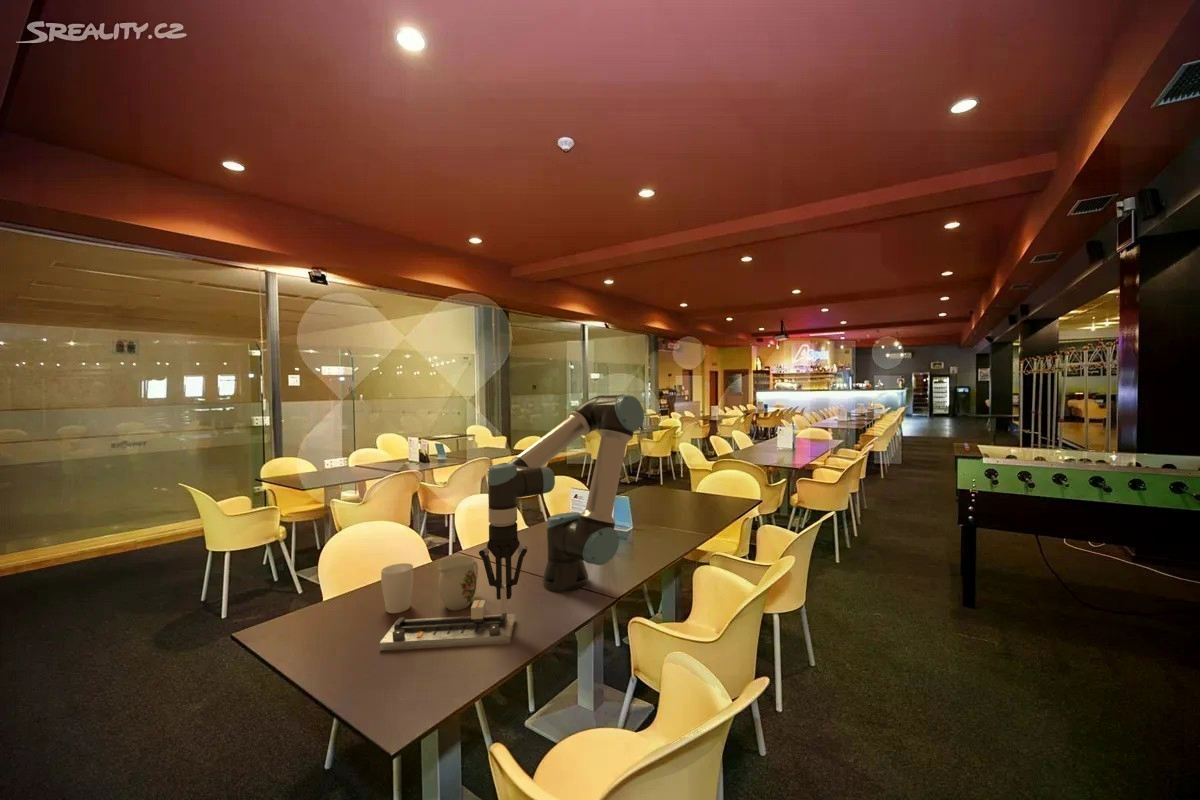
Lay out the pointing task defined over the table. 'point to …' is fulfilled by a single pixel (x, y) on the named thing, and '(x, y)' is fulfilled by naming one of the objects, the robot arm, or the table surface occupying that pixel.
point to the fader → (478, 611)
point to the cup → (397, 587)
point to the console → (448, 632)
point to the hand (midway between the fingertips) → (504, 610)
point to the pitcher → (457, 581)
